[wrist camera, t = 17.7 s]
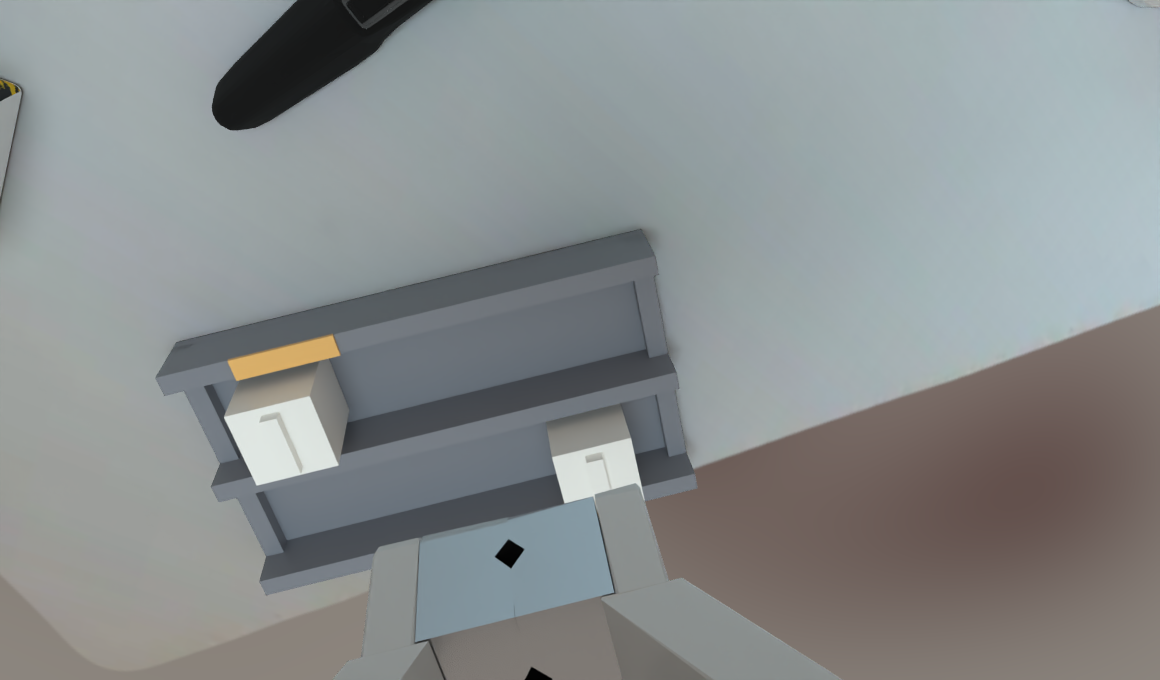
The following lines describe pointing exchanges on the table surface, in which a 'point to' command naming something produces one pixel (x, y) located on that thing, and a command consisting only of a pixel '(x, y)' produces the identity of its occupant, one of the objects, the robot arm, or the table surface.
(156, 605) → the table surface
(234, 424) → the white rectangular block
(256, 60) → the electric trimmer
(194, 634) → the table surface
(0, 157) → the medicine bottle
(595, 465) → the white boxy block
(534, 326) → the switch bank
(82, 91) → the table surface
